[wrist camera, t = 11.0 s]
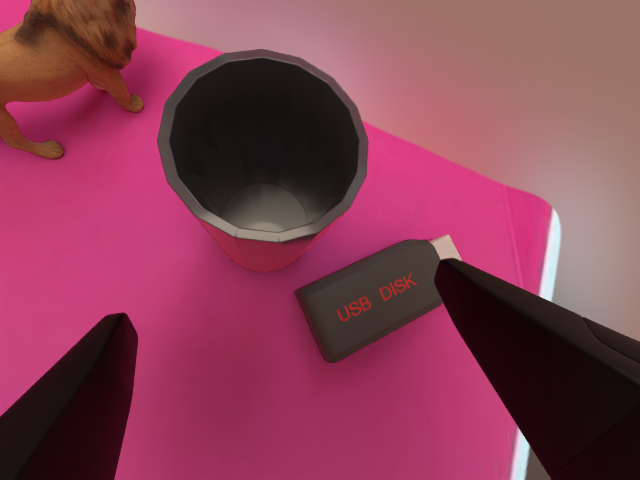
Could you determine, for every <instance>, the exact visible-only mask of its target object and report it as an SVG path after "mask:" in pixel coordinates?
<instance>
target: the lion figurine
mask: <svg viewBox="0 0 640 480" xmlns="http://www.w3.org/2000/svg"><path fill="white" fill-rule="evenodd" d="M135 12H136V6H135V4H134V0H31V5H30V7H29V10H28V11H27V13H26V14H25V15H24V21H22V22H21V23H19V24H18V25H16V26H14V27H12V28H10V29H8V30H6V31H3V32H1V33H0V137H1V138H2V139H3V140H4V141H5V142H6V143H7V144H8V145H9V146H10V147H12V148H15V149H20V150H24V151H28V152H31V153H34V154H36V155H38V156H41V157H44V158H50V159H54V158H58V157H60V156H61V155H62V154H63V148H62V147H61V145H60V144H59V143H57V142H56V141H53V140H49V141H45V142H42V143H36V142H33V141H30V140H28V139H26V138H25V137H24V136H23V135H22V133H21V131H20V129H19V127H18V125H17V123H16V121H15V119H14V118H13V117H12V116H11V115H10V113H9V112H8V111H7V110H6V108H5V105H6V104H7V103H9V102H12V101H20V102H39V101H51V100H54V99H58V98H62V97H64V96H67V95H69V94H71V93H73V92H75V91H76V90H78V89H79V88H81V87H82V86H83V85H85V84H86V83H87V82H88V81H89V83H90V84H91V85H92V86H95V87H96V88H98V89H101V90H104V89H105V90H106V91H107V92H108V93H109V94H110V95H111V96H112V97H113V98H114V99H115V101H116V102H117V103H118V104H119V105H121V106H122V107H124V108H125V109H127V110H129V111H133V112H139V111H141V110H142V108H143V106H144V105H143V101H142V99H141V98H140V97H138V95H136V94H134V95H129V93H128V90H127V87H126V84H125V82H124V80H123V78H122V76H121V74H120V73H119V70H121V69H123V68H124V67H125V65H128V63H130V61H131V54H132V51H134V50H135V49H136V48H137V42H136V26H135V15H136V13H135Z"/></svg>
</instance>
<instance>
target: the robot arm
mask: <svg viewBox="0 0 640 480" xmlns="http://www.w3.org/2000/svg"><path fill="white" fill-rule="evenodd" d="M434 284H435V287H436V289H437V291H438V293H439V295H440V297H441V299H442V301H443V303H444V305H445V307H446V309H447V311H448V313H449V315H450V317H451V319H452V321H453V323H454V325H455V327H456V328H457V330H458V332H459V333H460V335H461V337H462V338H463V340H464V341H465V343H466V345H467V346H468V348H469V349H470V351H471V353H472V354H473V356H474V357H475V359H476V360H477V362H478V364H479V365H480V367H481V368H482V370H483V372H484V373H485V375H486V376H487V378H488V380H489V381H490V383H491V384H492V386H493V388H494V389H495V391H496V392H497V394H498V396H499V397H500V399H501V400H502V402H503V403H504V405H505V407H506V408H507V410H508V411H509V413H510V415H511V416H512V418H513V419H514V421H515V423H516V424H517V426H518V427H519V429H520V431H521V432H522V434H523V435H524V437H525V439H526V440H527V442H528V443H529V445H530V446H531V448H532V450H533V451H534V453H535V454H536V456H537V458H538V459H539V461H540V462H541V464H542V466H543V467H544V469H545V470H546V472H547V474H548V475H549V476H550V478H551V480H640V342H639V341H637V340H635V339H632V338H630V337H627V336H625V335H623V334H620V333H618V332H616V331H613V330H611V329H609V328H607V327H605V326H602V325H600V324H598V323H596V322H593V321H591V320H589V319H587V318H585V317H581V316H580V315H578V314H576V313H574V312H572V311H569V310H567V309H565V308H563V307H561V306H559V305H556V304H554V303H552V302H550V301H548V300H546V299H543V298H541V297H539V296H537V295H535V294H532V293H530V292H528V291H526V290H524V289H522V288H519V287H517V286H515V285H513V284H511V283H508V282H506V281H504V280H502V279H500V278H498V277H495V276H493V275H491V274H489V273H487V272H484V271H482V270H480V269H478V268H476V267H473V266H471V265H469V264H467V263H465V262H463V261H460V260H458V259H456V258H446V259H442V260H440V262H439V264H438V267H437V270H436V273H435V276H434ZM137 346H138V335H137V332H136V330H135V328H134V326H133V324H132V322H131V321H130V319H129V317H128V315H127V314H126V313H116V314H110V315H107V316H105V317H104V318H103V319H101V320H100V321H99V322H98V323H97V324H96V325H95V326H94V327H93V328H92V329H91V330H90V331H89V332H88V333H87V334H86V335H85V336H84V337H83V338H82V339H81V340H80V341H79V342H78V343H77V344H75V345H74V346H73V347H72V348H71V349H70V350H69V351H68V352H67V353H66V354H65V355H64V356H63V357H62V358H61V359H60V360H59V361H58V362H57V363H56V364H55V365H54V366H53V367H52V368H50V369H49V370H48V371H47V372H46V373H45V374H44V375H43V376H42V377H41V378H40V379H39V380H38V381H37V382H36V383H35V384H34V385H33V386H32V387H31V388H30V389H29V390H28V391H27V392H26V393H24V394H23V395H22V396H21V397H20V398H19V399H18V400H17V401H16V402H15V403H14V404H13V405H12V406H11V407H10V408H9V409H8V410H7V411H6V412H5V413H4V414H3V415H2V416H1V417H0V480H114V478H115V474H116V469H117V465H118V460H119V456H120V451H121V447H122V442H123V438H124V434H125V429H126V425H127V420H128V416H129V411H130V406H131V401H132V394H133V386H134V376H135V366H136V356H137Z"/></svg>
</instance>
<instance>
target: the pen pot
mask: <svg viewBox="0 0 640 480" xmlns="http://www.w3.org/2000/svg"><path fill="white" fill-rule="evenodd" d="M157 144H158V148H159V152H160V156H161V160H162V164H163V168H164V172H165V176H166V180H167V182H168V184H169V185H170V186H171V188H172V189H173V190H174V191H175V193H176V194H177V195H178V196H179V197H180V199H181V200H182V201H183V202H184V204H185V205H186V206H187V207H188V209H189V210H190V211H191V212H192V214H193V215H194V216H195V217H196V218H197V220H198V221H199V222H200V223H201V224H202V226H203V227H204V228H205V229H206V230H207V232H208V233H209V234H210V235H211V236H212V237H213V239H214V240H215V241H216V242H217V243H218V245H219V246H220V247H221V248H222V249H223V250H224V252H225V253H226V254H227V255H228V256H229V258H230V259H231V260H232V261H234V262H236V263H237V264H239V265H240V266H242V267H244V268H247V269H249V270H253V271H258V272H271V271H276V270H279V269H282V268H285V267H288V266H289V265H290V264H292V263H293V262H294V261H295V260H297V259H298V258H299V257H300V256H302V255H303V254H304V253H305V252H306V251H307V250H308V249H309V248H310V247H311V246H312V245H313V244H314V243H315V242H316V241H317V240H318V239H319V238H320V237H321V236H322V235H323V234H324V233H325V232H326V231H327V230H328V229H329V228H330V227H331V226H332V225H333V224H334V223H335V222H336V221H337V220H338V219H339V218H340V217H341V216H342V215H343V214H344V213H345V212H346V211H347V210H348V209H349V208H350V207H351V205H352V203H353V201H354V199H355V197H356V195H357V193H358V191H359V189H360V187H361V186H362V184H363V182H364V180H365V178H366V175H367V158H368V137H367V134H366V132H365V129H364V126H363V123H362V120H361V117H360V114H359V111H358V108H357V107H356V105H355V104H354V102H353V101H352V100H351V99H350V97H349V96H348V95H347V94H346V93H345V91H344V90H343V89H342V88H341V87H340V85H339V84H338V83H337V82H336V80H335V79H334V78H332V77H331V76H330V75H328V74H327V73H325V72H323V71H321V70H320V69H318V68H317V67H315V66H313V65H311V64H310V63H308V62H307V61H305V60H304V59H301V58H300V57H295V56H291V55H287V54H282V53H278V52H274V51H269V50H264V49H263V50H262V49H258V50H250V51H241V52H233V53H224V54H222V55H220V56H218V57H216V58H214V59H212V60H210V61H208V62H206V63H205V64H203V65H201V66H199V67H197V68H195V69H193V70H191V71H190V72H189V73H188V74H187V75H186V76H185V78H184V79H183V80H182V81H181V83H180V84H179V85H178V86H177V88H176V89H175V90H174V92H173V93H172V94H171V95H170V97H169V98H168V99H167V101H166V103H165V105H164V110H163V115H162V119H161V124H160V129H159V133H158V138H157Z"/></svg>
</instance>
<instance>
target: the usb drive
mask: <svg viewBox="0 0 640 480" xmlns="http://www.w3.org/2000/svg"><path fill="white" fill-rule="evenodd" d="M446 258H456V259H458V260H460V261H462V260H461V258H460V256H459V254H458V252H457V250H456V248H455V246H454V244H453V242H452V240H451V238H450V236H449V235H445V236H442V237H439V238H436V239H434V240H431V241H428V240H405V241H402V242H399V243H397V244H394V245H392V246H390V247H388V248H385V249H383V250H381V251H379V252H377V253H375V254H373V255H370V256H368V257H366V258H364V259H362V260H360V261H357V262H355V263H353V264H351V265H349V266H347V267H345V268H342V269H340V270H338V271H336V272H334V273H332V274H330V275H327V276H325V277H323V278H321V279H319V280H317V281H314V282H312V283H310V284H308V285H306V286H304V287H302V288H300V289H298V290H296V291H295V294H296V297H297V299H298V301H299V303H300V306H301V308H302V310H303V312H304V315H305V317H306V319H307V322H308V324H309V326H310V328H311V331H312V333H313V335H314V337H315V340H316V342H317V344H318V347H319V349H320V351H321V353H322V356H323V358H324V360H325V361H327V362H328V363H335V362H337V361H340V360H342V359H344V358H346V357H347V356H349V355H351V354H353V353H355V352H357V351H358V350H360V349H362V348H364V347H366V346H368V345H369V344H371V343H373V342H375V341H377V340H378V339H380V338H382V337H384V336H386V335H388V334H389V333H391V332H393V331H395V330H397V329H398V328H400V327H402V326H404V325H406V324H408V323H409V322H411V321H413V320H415V319H417V318H418V317H420V316H422V315H424V314H426V313H427V312H429V311H431V310H433V309H435V308H436V307H438V306H440V305H441V304H442V302H443V301H442V299H441V297H440V295H439V293H438V291H437V289H436V287H435V284H434V276H435V273H436V270H437V267H438V264H439V262H440V260H442V259H446Z"/></svg>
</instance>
